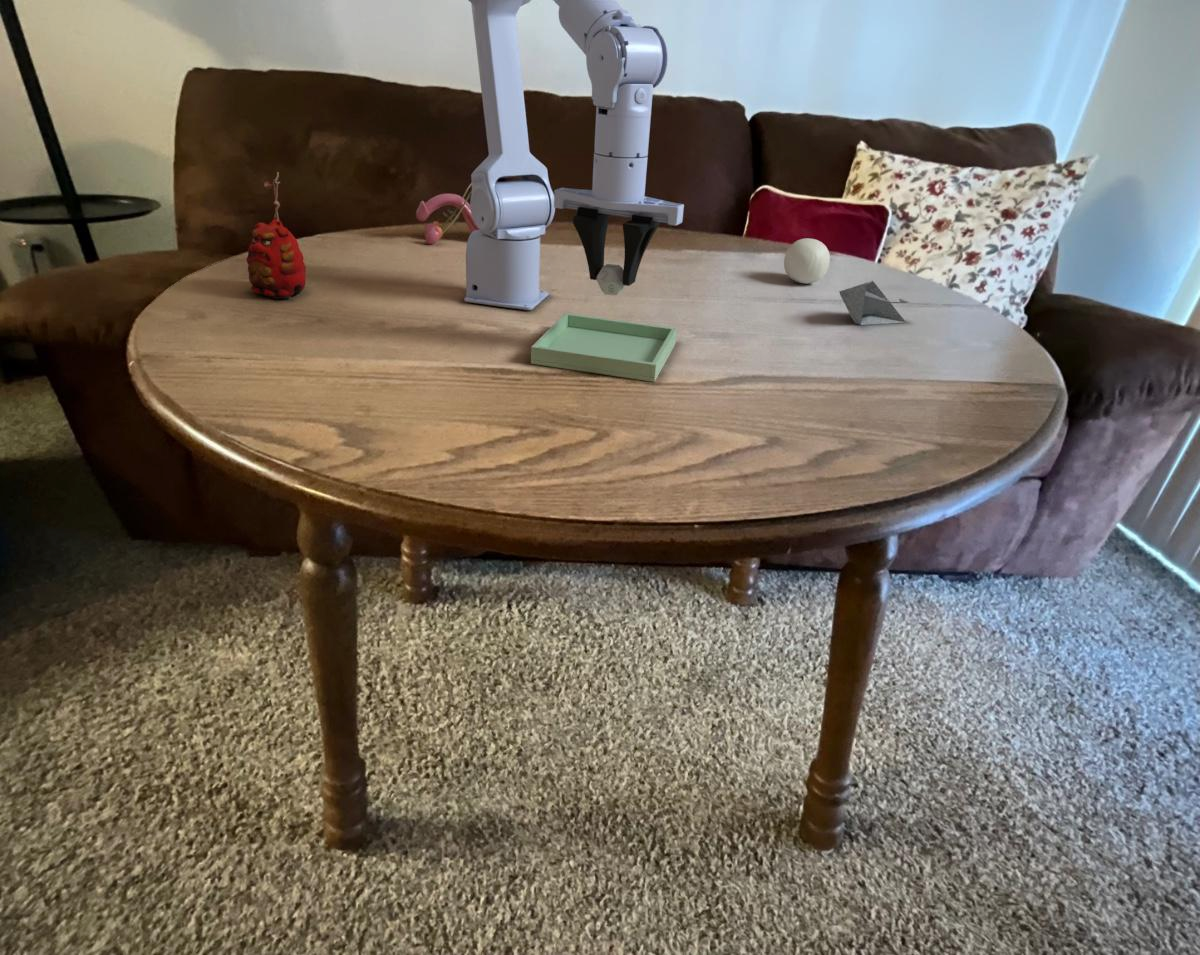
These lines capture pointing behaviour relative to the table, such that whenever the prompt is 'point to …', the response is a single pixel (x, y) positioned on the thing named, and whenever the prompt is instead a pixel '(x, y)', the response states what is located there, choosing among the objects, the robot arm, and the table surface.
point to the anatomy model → (434, 229)
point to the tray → (605, 347)
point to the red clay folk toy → (275, 257)
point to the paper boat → (870, 305)
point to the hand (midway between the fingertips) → (612, 280)
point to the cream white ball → (807, 260)
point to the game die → (611, 279)
